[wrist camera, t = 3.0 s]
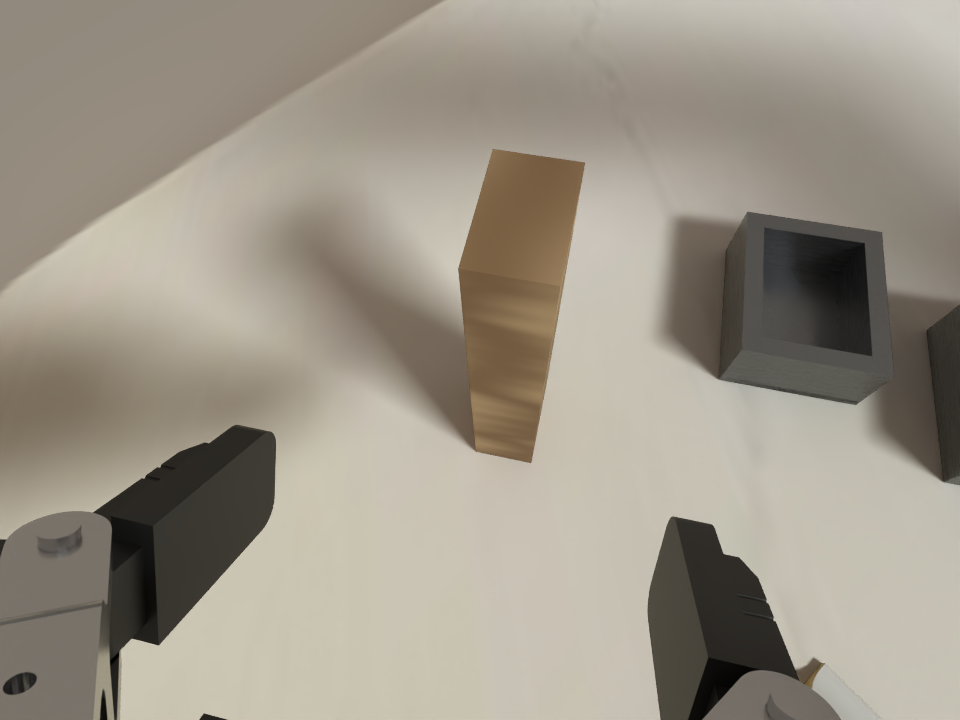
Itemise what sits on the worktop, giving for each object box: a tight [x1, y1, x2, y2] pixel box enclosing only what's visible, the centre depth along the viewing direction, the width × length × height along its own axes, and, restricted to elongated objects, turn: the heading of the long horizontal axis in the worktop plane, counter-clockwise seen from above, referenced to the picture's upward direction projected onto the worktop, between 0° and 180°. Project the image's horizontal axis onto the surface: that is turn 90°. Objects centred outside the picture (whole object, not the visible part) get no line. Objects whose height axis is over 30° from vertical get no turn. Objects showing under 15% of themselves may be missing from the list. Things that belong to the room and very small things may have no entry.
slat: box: [458, 149, 585, 463], centre depth 22 cm, size 2×4×14 cm, turn 168°
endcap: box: [719, 212, 894, 405], centre depth 29 cm, size 6×8×3 cm
